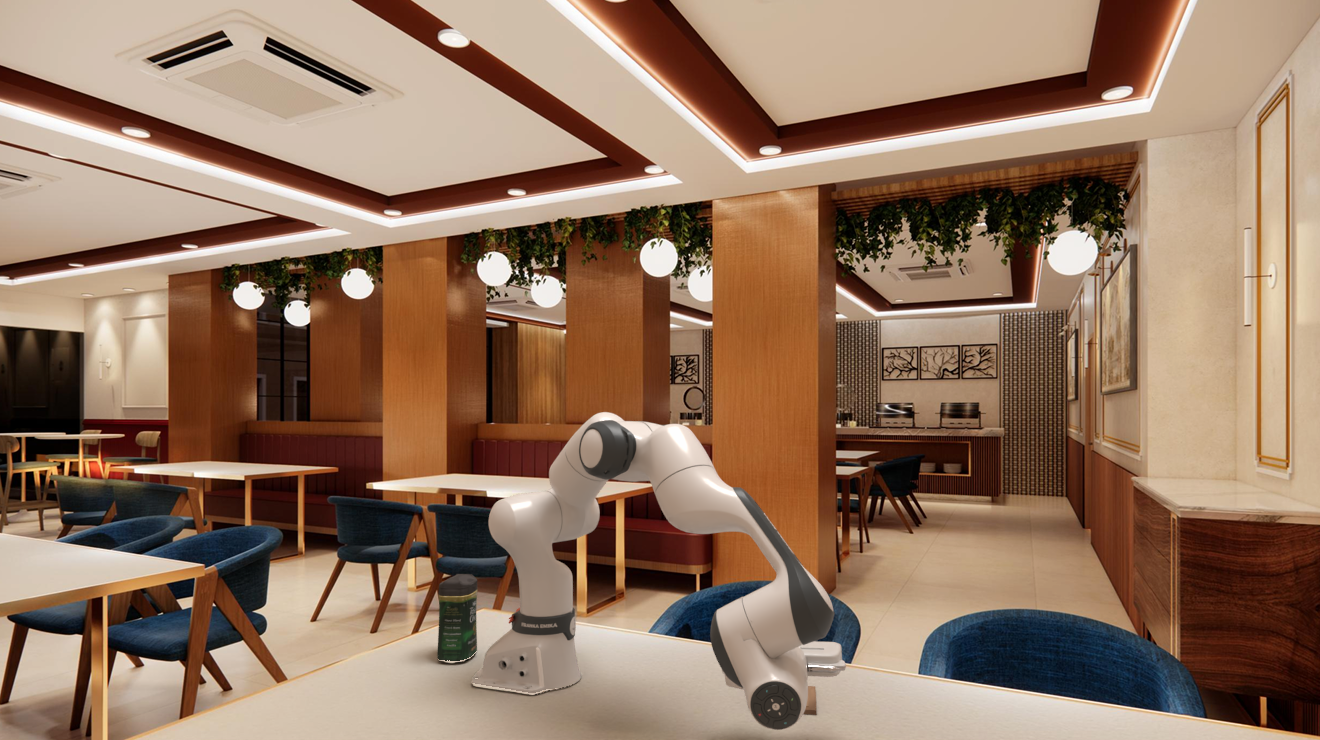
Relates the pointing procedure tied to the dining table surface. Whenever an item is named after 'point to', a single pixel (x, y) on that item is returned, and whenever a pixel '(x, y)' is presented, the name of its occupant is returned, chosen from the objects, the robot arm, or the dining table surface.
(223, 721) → the dining table surface
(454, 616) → the coffee jar
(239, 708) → the dining table surface
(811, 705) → the trivet
